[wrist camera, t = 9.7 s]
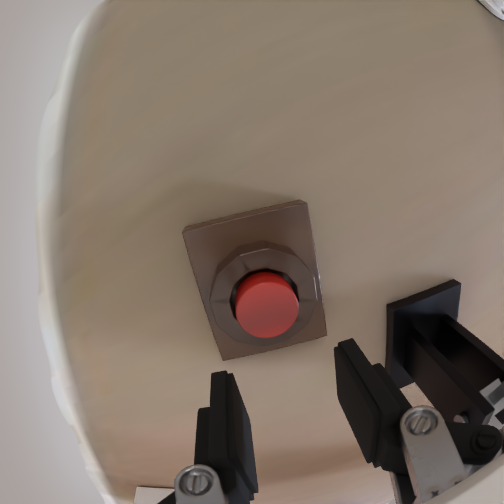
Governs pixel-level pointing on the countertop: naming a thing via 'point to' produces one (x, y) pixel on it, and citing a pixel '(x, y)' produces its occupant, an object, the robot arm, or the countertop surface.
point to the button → (265, 305)
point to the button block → (255, 261)
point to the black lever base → (441, 355)
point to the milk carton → (151, 495)
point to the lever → (494, 395)
